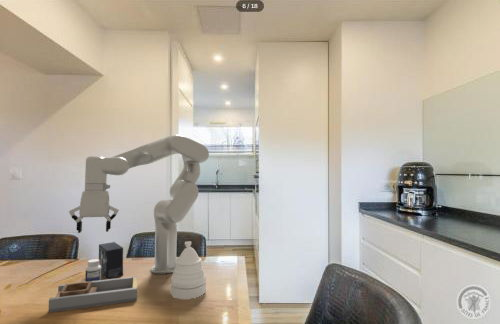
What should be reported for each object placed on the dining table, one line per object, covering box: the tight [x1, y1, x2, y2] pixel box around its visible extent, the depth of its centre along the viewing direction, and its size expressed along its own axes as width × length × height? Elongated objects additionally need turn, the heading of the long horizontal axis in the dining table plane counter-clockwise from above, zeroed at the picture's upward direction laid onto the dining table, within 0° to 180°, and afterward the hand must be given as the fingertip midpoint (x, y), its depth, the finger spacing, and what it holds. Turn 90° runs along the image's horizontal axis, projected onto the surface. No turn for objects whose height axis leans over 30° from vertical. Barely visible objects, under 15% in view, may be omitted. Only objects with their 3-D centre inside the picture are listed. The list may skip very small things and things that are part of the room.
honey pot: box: [170, 240, 207, 300], centre depth 110 cm, size 13×13×18 cm
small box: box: [98, 241, 124, 280], centre depth 129 cm, size 13×7×12 cm, turn 41°
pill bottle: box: [84, 258, 102, 282], centre depth 115 cm, size 5×5×10 cm
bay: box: [48, 275, 138, 314], centre depth 104 cm, size 26×13×4 cm, turn 111°
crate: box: [55, 281, 98, 297], centre depth 101 cm, size 12×9×4 cm
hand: (93, 231), depth 115 cm, fingers open, 9 cm apart
